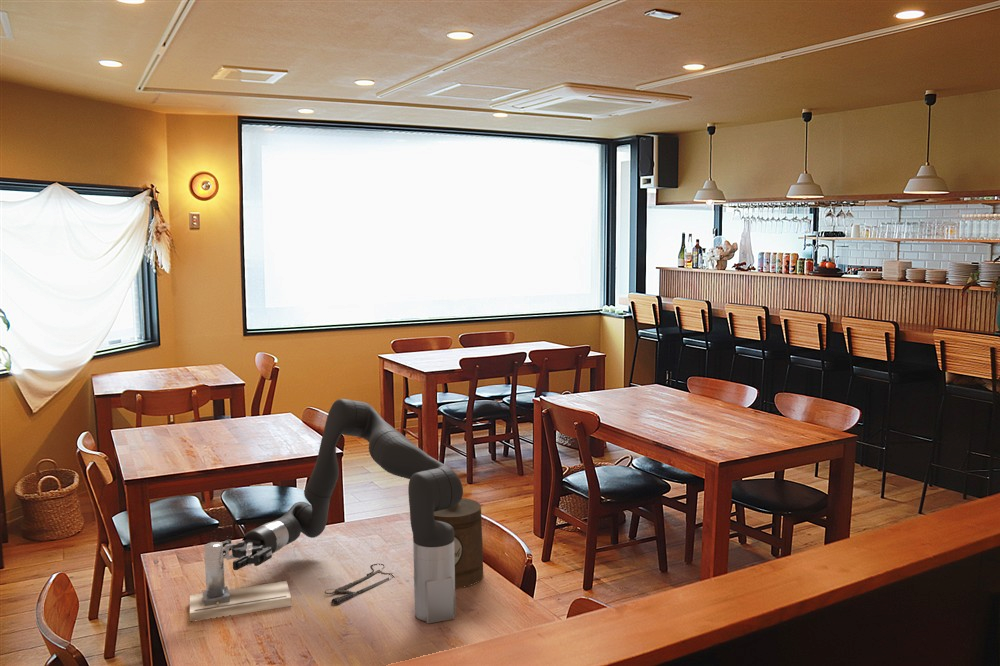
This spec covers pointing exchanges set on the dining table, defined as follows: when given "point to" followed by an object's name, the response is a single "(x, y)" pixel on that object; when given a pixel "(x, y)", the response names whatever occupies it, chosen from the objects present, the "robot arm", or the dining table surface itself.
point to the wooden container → (465, 540)
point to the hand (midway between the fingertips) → (219, 563)
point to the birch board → (243, 601)
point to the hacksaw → (351, 594)
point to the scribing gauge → (215, 575)
